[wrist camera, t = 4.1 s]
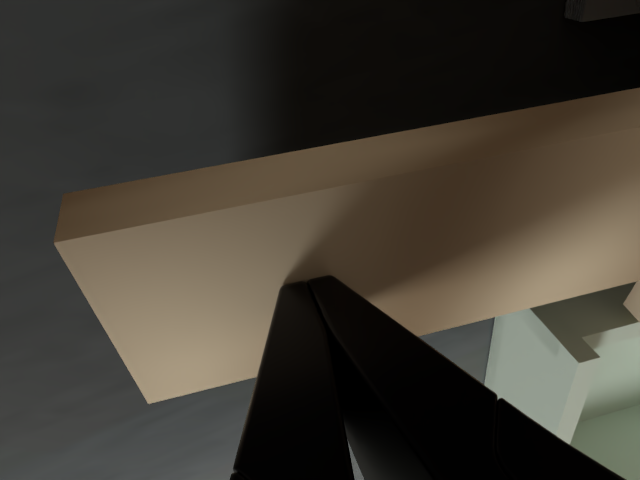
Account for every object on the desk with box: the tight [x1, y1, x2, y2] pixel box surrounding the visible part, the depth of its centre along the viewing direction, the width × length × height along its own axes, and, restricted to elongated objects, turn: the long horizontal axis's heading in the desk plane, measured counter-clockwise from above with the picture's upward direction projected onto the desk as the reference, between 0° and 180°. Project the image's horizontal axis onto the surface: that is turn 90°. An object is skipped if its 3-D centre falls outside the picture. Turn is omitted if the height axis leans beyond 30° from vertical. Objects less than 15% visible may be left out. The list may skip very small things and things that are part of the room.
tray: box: [484, 281, 640, 480], centre depth 17 cm, size 9×9×4 cm
